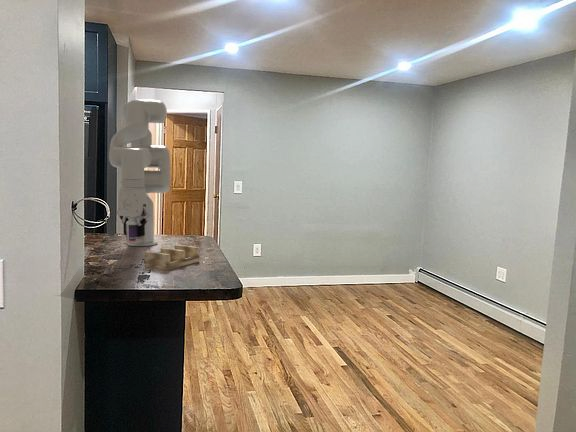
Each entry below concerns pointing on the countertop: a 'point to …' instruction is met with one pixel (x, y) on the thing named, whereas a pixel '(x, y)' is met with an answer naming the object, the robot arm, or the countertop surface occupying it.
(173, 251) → the rack
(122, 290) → the countertop surface
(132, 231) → the pill bottle
